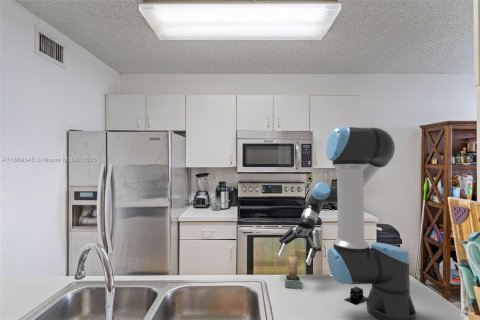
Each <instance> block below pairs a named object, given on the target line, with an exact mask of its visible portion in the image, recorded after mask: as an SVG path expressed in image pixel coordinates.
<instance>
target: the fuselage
mask: <svg viewBox="0 0 480 320" xmlns="http://www.w3.org/2000/svg"><path fill="white" fill-rule="evenodd" d="M288 275H289V280H294V281H297V275H298V256H297V255H288Z"/></svg>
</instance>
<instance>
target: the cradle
mask: <svg viewBox="0 0 480 320" xmlns="http://www.w3.org/2000/svg"><path fill="white" fill-rule="evenodd" d="M301 280H302V279H301V275H298V274H297V281H294V280H289V274H284V288H287V289H295V290H297V289H298V290H301V289H302V281H301Z"/></svg>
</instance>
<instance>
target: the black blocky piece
mask: <svg viewBox="0 0 480 320" xmlns="http://www.w3.org/2000/svg"><path fill="white" fill-rule="evenodd" d="M367 299H368V296H364V289H363V288H361V287H358V286H354V287H351V288H350V291H349V297H346V298H344V299H343V301H345V302H347V303H350V304H353V305H354V306H358V305H360V304H363V303H365V302H367Z"/></svg>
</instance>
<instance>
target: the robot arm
mask: <svg viewBox="0 0 480 320" xmlns="http://www.w3.org/2000/svg"><path fill="white" fill-rule="evenodd" d="M395 146H396V145H395V142H394V139H393V137H392V136H391V134H389V132H387V131H386V130H384V129H381V128H378V127H354V126H353V127H351V126H347V127H345V126H344V127H337V128H335V129H333V130H332V131H331V132H330V133H329V136H328V139H327V142H326V148H325V153H326V158H327V159H328V160H329V161H331V162H332V167H333V168H335V170H336V179H337V180H336V185H337V186H329V184H327V183H325V182H318V183H316V184H315V186H314V187H313V189H312V190H311V193H310V195H309V196H308V198H307V201H306V204H305V206H304V209H303V211H302V213H301V217H300V219H299V221H298V224H297V227H295V226H294V225H291V226H290V228H289V229H288V230H287V231H286V232H285V233H284V234H283V235H282V236H281V237H279V239H278V241H279V243H280V246H279V252H278V255H277V256H278V258H279V259H281V260H283V257H284V254H285V251H286V249H287V245H289V244H290V243H292V241H295V240H296V239H304V240H306V239H308V241H309V244H310V245H311V248H310V249H309V251H308V255H307V258H306V261H305V263H306V264H307V266H310V265H311V263H312V259H314V258H315V257H316V254H317V252H322V247H321V245H322V244H321V242H320V237H319V236H320V231H319V230H318V229H315V227H316V225H317V222H318V219H319V216H320V213H321V210H322V209H323V206H324V205H325V204H329V203H330V204H331V203H333V204H337V238H336V239H335V240H334V241H333V247H330V248H329V249H328V250H327V255H326V256H327V263H328V264H327V265H328V267H329V271H330V273H331V276H332V277H333V279H334V280H335V282H337V283H338V284H341V285H350V286H353V285H371V288H370V291H369V294H368V296H367V298H368V299H367V301H366V310H367V312H368V313H369V314H370V315H371V316H372V317H374V318H376V319H378V320H417V310H416V308H415V305H414V302H413V300H412V297H411V292H410V291H411V290H410V287H411V285H410V278H411V277H410V265H411V262H410V255H409V252H408V251H407V250H405V249H404V248H401V247H399V246H397V245H394V244H389V243H384V242H378V241H377V242H372V243H371V245H370V244H369V243H368V242H367V241H366V239H365V205H364V204H365V203H364V200H365V199H364V197H365V195H364V187H365V186H366V185H367V183H369V182H370V180H371V179H372V178H373V177H374V176H375V174H376V173H378V171H379V170H380V168H385V167H386V166H387V165H388V164H389V163H390V161H392V159H393V157H394V155H395V151H396V150H395V149H396V147H395ZM311 236H314V239H315V243H316V245H315V243H314V241H313V240H312V238H311Z"/></svg>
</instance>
